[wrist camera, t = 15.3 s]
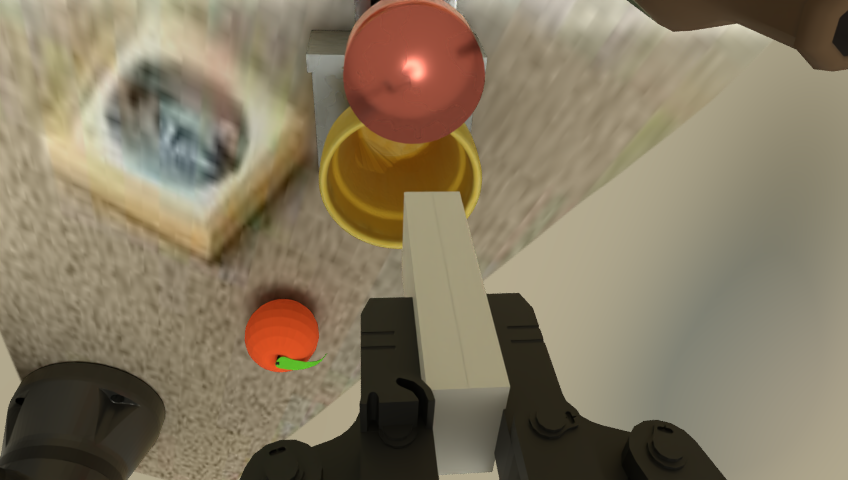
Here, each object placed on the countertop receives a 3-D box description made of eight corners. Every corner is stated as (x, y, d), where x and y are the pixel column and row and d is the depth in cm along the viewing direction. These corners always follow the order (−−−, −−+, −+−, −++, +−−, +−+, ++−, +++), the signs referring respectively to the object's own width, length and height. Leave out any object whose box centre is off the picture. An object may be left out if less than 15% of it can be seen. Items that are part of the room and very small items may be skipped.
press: (461, 174, 50) (484, 262, 40) (321, 174, 49) (311, 264, 39) (485, -66, 38) (525, -23, 29) (304, -73, 37) (283, -31, 28)
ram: (439, 28, 40) (477, 144, 26) (352, 26, 39) (345, 143, 26) (445, -69, 36) (492, 8, 23) (350, -72, 36) (340, 4, 22)
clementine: (340, 297, 57) (337, 350, 52) (319, 342, 61) (314, 397, 55) (260, 276, 55) (248, 330, 49) (243, 324, 58) (230, 380, 53)
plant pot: (356, 192, 48) (354, 268, 40) (304, 79, 41) (290, 142, 34) (476, 155, 46) (498, 226, 39) (441, 32, 40) (459, 87, 32)
